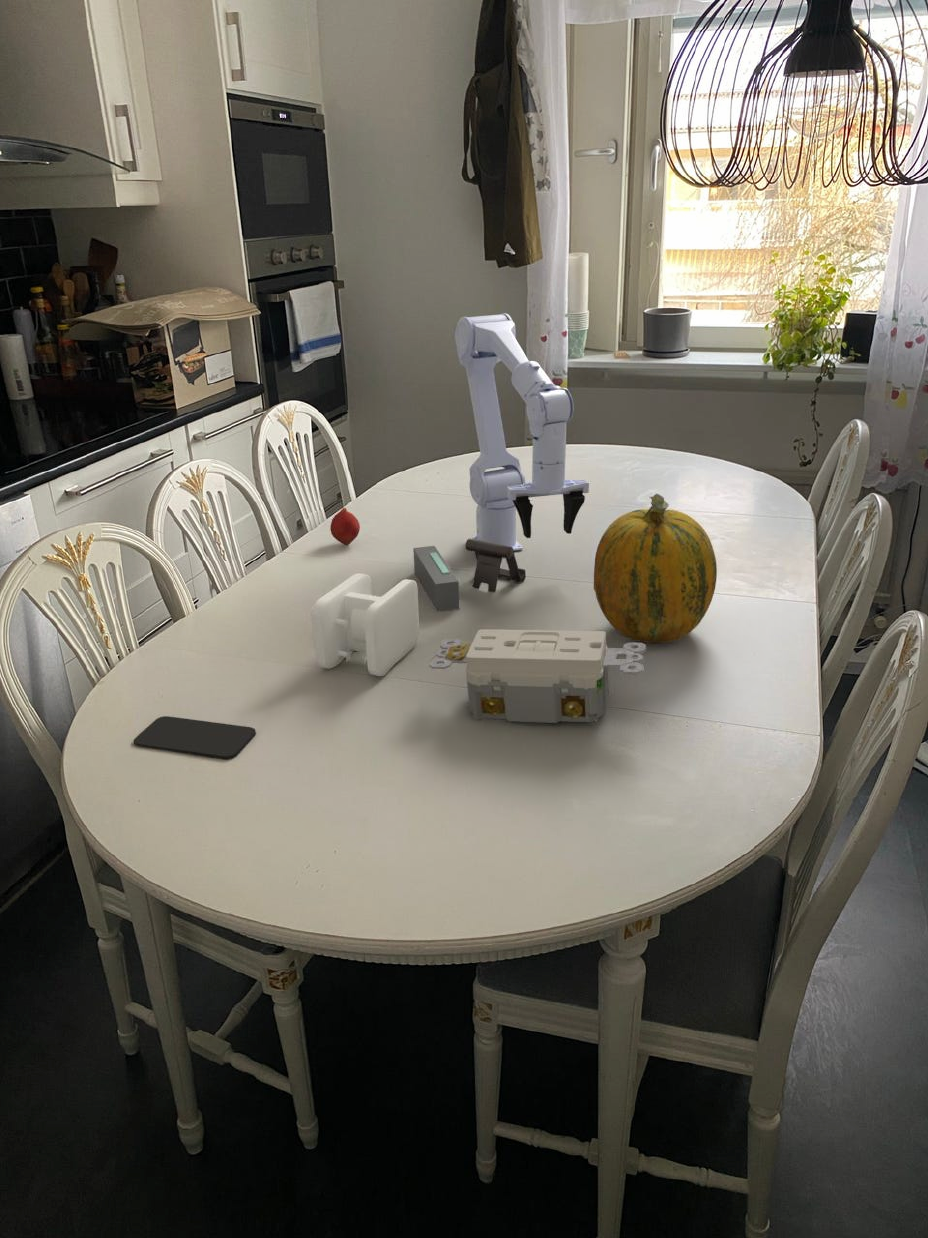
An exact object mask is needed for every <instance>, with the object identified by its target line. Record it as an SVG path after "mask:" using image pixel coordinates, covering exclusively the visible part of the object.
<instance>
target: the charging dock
mask: <svg viewBox="0 0 928 1238" xmlns="http://www.w3.org/2000/svg"><path fill="white" fill-rule="evenodd" d="M412 551H413V567H414V568H413V571H414V575H415V577H416V578H417V580H418V582H419V584H420V585H421V587H422V589H423V590H424V592H425V594H426V595H427V597H428V598H429V601H430V602H431V604H432V605H433V606H432V607H435V608H434V609H435V611H436V612H440V611H449V610H458V609H460V585H459V584H460V582H459V580H458V578H457V576H456V575H455V574H454V572H453V571H452V569H451V568H450V566H449V564H448V563H447V562H446V560H445V558H444V557H443V556H442V555H441V553H440V551H439V550H438V549H437V547H436V546H435V545H428V546H421V547H420V546H419V547H413V550H412Z"/></svg>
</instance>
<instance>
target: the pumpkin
mask: <svg viewBox="0 0 928 1238" xmlns="http://www.w3.org/2000/svg"><path fill="white" fill-rule="evenodd" d="M649 498H650V499H651V501H650V505H651V506H650V507H649V508H642V509H636V510H631V511H632V512H630V511H629V512H627V513H625V514H622V515H621V516H619V517H618V518H616V519H615V520H614V521H613V522H611V524H610V525H609V526H608V527H607V528H606V530H605V531H604V532H603V534H602V536H601V538H600V540H599V543H598V545H597V548H596V552H595V557H594V566H593V567H594V569H593V589H594V592H595V597H596V600H597V603H598V606H599V608H600V610H601V612H602V614H603V616H604V617H605V619H606V620H607V622H608V623H609V624H610V625H611V626H612V627H613V629H615V630H616V631H617V632H619V633H620V635H623V636H624V637H626V638H628V639H631V640H633V641H637V642H641V643H649V644H651V643H653V644H665V643H666V644H667V643H669V642H674V641H677V640H679V639H681V638H684V637H685V636H687V635H689V634H690V633H691V632H692V631H693V630H695V629H696V628H697V626H699V624H700V623H701V622H702V621H703V619H704V617H705V616H706V614H707V611H708V610H709V608H710V606H711V602H712V600H713V598H714V594H715V592H716V591H715V590H716V584H717V573H718V569H717V567H718V566H717V565H718V564H717V558H716V554H715V551H714V547H713V544H712V541H711V540H710V537H709V535H708V533H707V532H706V531H705V529H704V528H703V526H701V524H700V523H698V522H697V521H696V520H695V519H694V518H693V517H692V516H690V515H688V514H686V513H684V512H683V511H679V510H675V509H668V507H669V505H670V504H669V503H668V502H667V501H665V498H664V496H662V495H661V494H659V493H655V494H654V495H653V496H649Z"/></svg>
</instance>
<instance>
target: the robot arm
mask: <svg viewBox="0 0 928 1238" xmlns="http://www.w3.org/2000/svg"><path fill="white" fill-rule="evenodd" d="M516 331H517V330H516V324H515V322H514V321H513V319H512V317H511V316H510V314H508V313H505V312H503V313H500V314H492V315H480V316H479V315H478V316H469V317H467V316H461V318H460V319H459V320H458V322H457V325H456V328H455V332H454V339H455V345H456V350H457V356H458V360H459V364H460V365H461V366H463V367H464V368H465V369H466V375H467V383H468V387H469V393H470V394H469V395H470V400H471V404H472V411H473V417H474V423H475V428H476V430H475V431H476V435H477V436H476V437H477V440H478V442H477V443H478V446H479V452H480V453H479V454H480V455H478V458H476V460H475V461H474V462H473V463H472V465H471V466H470V467H469V492H470V495H471V498H472V500H473V501H474V502H475V503H476V504H477V506H476V509H475V512H476V519H475V520H476V521H475V522H476V535H473V536H472V537H471V539H474V540H479V541H484V542H489V543H494V544H499V545H505V546H510V547H512V548H513V551H522V550H523V549H524V548H523V546H522V544H520V542H519V541H517V514H518V516H519V520H520V523H521V527H522V532H523V536H524V537H525V538H526V539H531V536H532V514H533V513H532V512H533V509H534V508H533V507H534V505H533V504H532V503H531V500H530V498H536V497H537V498H538V497H546V496H547V497H549V496H556V495H558V496H559V495H562V500H563V509H564V510H563V531H564V532H565V533H566V534H568V535H570V534H572V530H573V528H574V527H573V526H574V523H575V520H576V518H577V516H578V513H579V511H580V509H581V507H582V506H583V505H584V503H585V500H586V496H585V494H588V493H589V492H590V489H589V488H590V482H589V481H587V480H586V479H566V455H567V453H566V452H567V449H566V448H567V423H568V422H570V421H571V420H572V419H573V416H574V412H575V403H574V399H573V396H572V395H571V392H570V390H569V389H568V388H566V387H560V385H556V384H554V382H553V381H552V380H551V378H550V377H549V376H548V375H547V373H546V372H545V371H544V369H543V368H542V366H541V365H540V364H539V362H537V361H534V360H529V359H528V357H527V356H526V355H527V354H525V352H524V350H523V349H522V347H521V345H520V344H519V342H518V340H517V338H516V333H517V332H516ZM499 362H502V363H503V364H504V366H505V367H506V368H507V369H508V370H509V372H510V373H512V374H511V379H510V380H511V384H512V386H513V387H514V389H515V390H516V392H517V393H518V394H519V396H520V397H521V398H522V400H523V401H524V403H525V404H526V407H525V408H526V409H525V411H526V412H525V413H526V416H527V419H528V424H529V434H530V435H532V460H531V461H532V464H531V467H532V469H531V476H532V477H531V478H532V479H531V480H532V481H531V482H526V481H527V480H526V477H525V474H524V471H523V470H522V467H521V463H520V459H519V458H517V457H516V456H514V455H513V454H511V453H510V452H508V451H507V445H506V439H505V434H504V433H505V432H504V428H503V421H502V417H501V416H502V415H501V410H500V404H499V403H500V402H499V398H498V393H497V392H498V391H497V386H496V379H495V373H494V368H495V366H496V364H497V363H499ZM495 468H500V469H495ZM490 469H495V470H490ZM486 470H487V471H486ZM488 470H489V471H488Z"/></svg>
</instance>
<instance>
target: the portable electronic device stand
mask: <svg viewBox="0 0 928 1238" xmlns="http://www.w3.org/2000/svg"><path fill="white" fill-rule="evenodd" d="M465 550H466V551H469V552H474V556H475V560H476V566H475V571H474V576H473V581H472V588H473V589H475V590H480V587H481V584H486V585H487V586H488V588H487V589H488V590H487V592H489V593H496V589H497V586H498V585H497V584H498V579H499V578H501V579H505V580H510V581H514V582H520V583H524V581H525V579H526V577H527V576H526V569H523V568H519V566H518V562H517V558H516V555H515V552H514V551H513V548H512V547H510V546H505V545H499V544H494V543H489V542H484V541H479V540H474V539H472V538H467V540H466V541H465ZM503 559H506V564H507V568H508V569H505V568H501V564H502V560H503Z"/></svg>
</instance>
